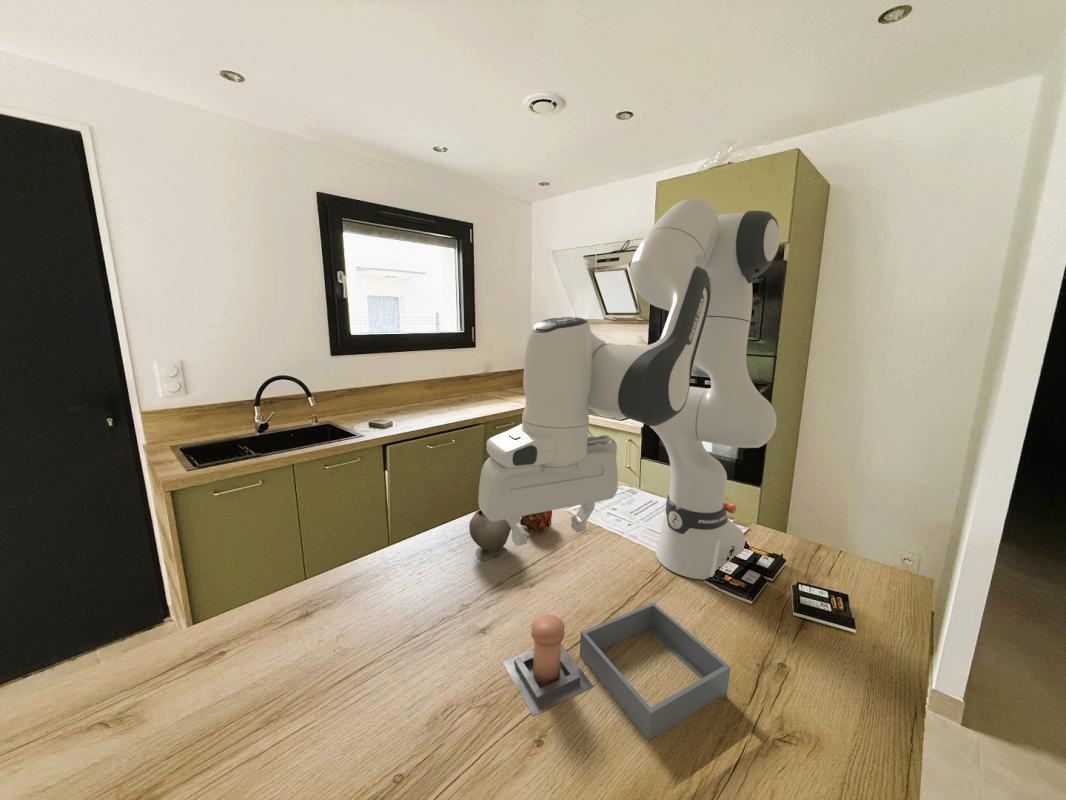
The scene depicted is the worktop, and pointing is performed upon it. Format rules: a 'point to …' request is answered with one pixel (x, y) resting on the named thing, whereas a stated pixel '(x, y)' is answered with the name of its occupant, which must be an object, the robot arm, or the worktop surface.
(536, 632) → the butternut squash
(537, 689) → the socket plate
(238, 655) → the worktop surface
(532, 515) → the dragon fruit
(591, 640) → the slate tray
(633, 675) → the worktop surface
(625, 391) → the robot arm
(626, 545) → the worktop surface
